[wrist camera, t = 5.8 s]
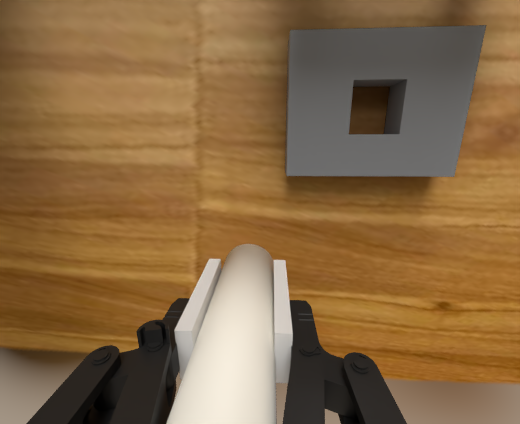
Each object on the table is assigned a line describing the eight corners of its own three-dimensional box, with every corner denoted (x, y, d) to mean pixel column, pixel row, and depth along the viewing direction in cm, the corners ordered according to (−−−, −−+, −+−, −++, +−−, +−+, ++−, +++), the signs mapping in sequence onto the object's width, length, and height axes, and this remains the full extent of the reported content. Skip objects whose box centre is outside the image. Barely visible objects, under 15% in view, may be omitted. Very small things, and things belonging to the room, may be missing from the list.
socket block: (284, 171, 33) (286, 175, 29) (288, 43, 29) (290, 29, 25) (432, 171, 32) (454, 176, 28) (456, 40, 28) (486, 25, 24)
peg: (225, 287, 20) (160, 506, 8) (223, 243, 18) (146, 424, 7) (273, 288, 19) (276, 513, 8) (274, 244, 18) (278, 430, 7)
